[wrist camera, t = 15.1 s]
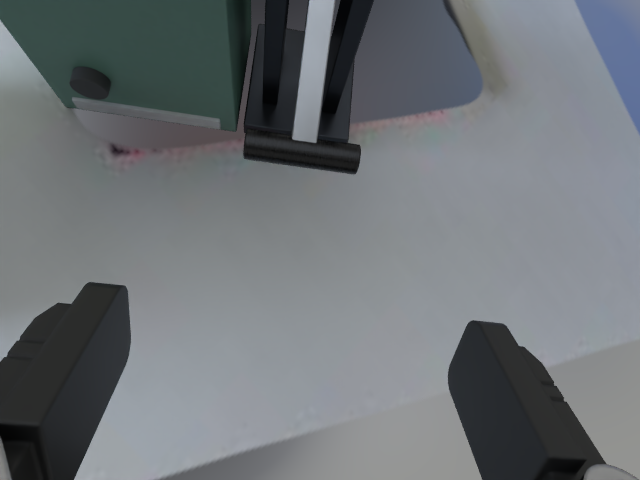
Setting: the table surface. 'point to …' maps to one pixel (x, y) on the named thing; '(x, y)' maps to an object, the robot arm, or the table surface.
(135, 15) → the toaster
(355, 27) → the lever bracket
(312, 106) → the lever
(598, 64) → the table surface
